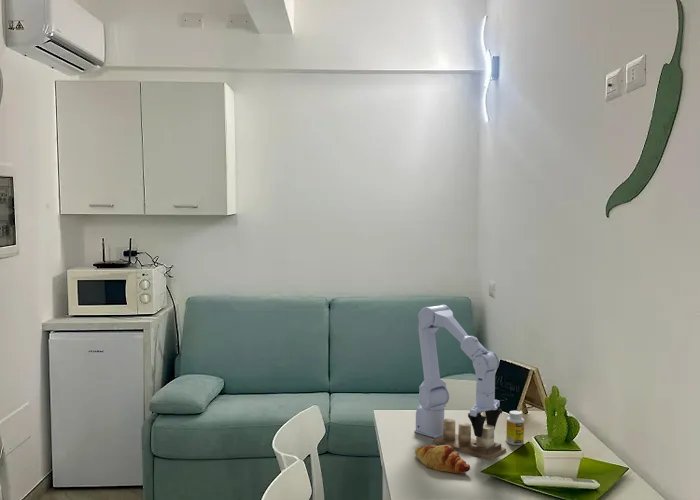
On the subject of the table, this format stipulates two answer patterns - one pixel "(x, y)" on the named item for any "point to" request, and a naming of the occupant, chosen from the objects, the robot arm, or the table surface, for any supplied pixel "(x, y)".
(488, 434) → the maple block
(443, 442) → the walnut rail
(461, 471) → the croissant
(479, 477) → the table surface
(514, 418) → the supplement bottle
